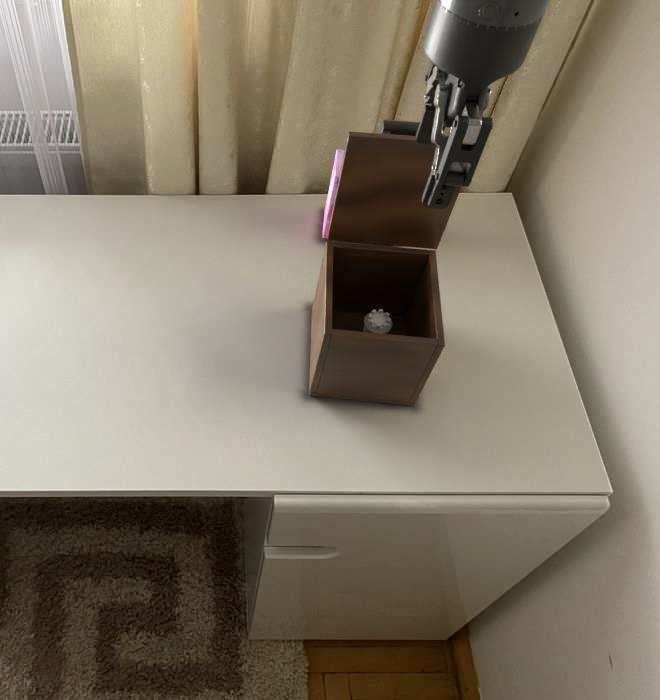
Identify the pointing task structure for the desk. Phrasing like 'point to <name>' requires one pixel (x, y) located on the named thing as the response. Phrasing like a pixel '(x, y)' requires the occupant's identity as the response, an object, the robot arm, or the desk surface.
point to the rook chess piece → (377, 322)
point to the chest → (374, 348)
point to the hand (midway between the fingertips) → (430, 172)
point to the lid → (387, 190)
